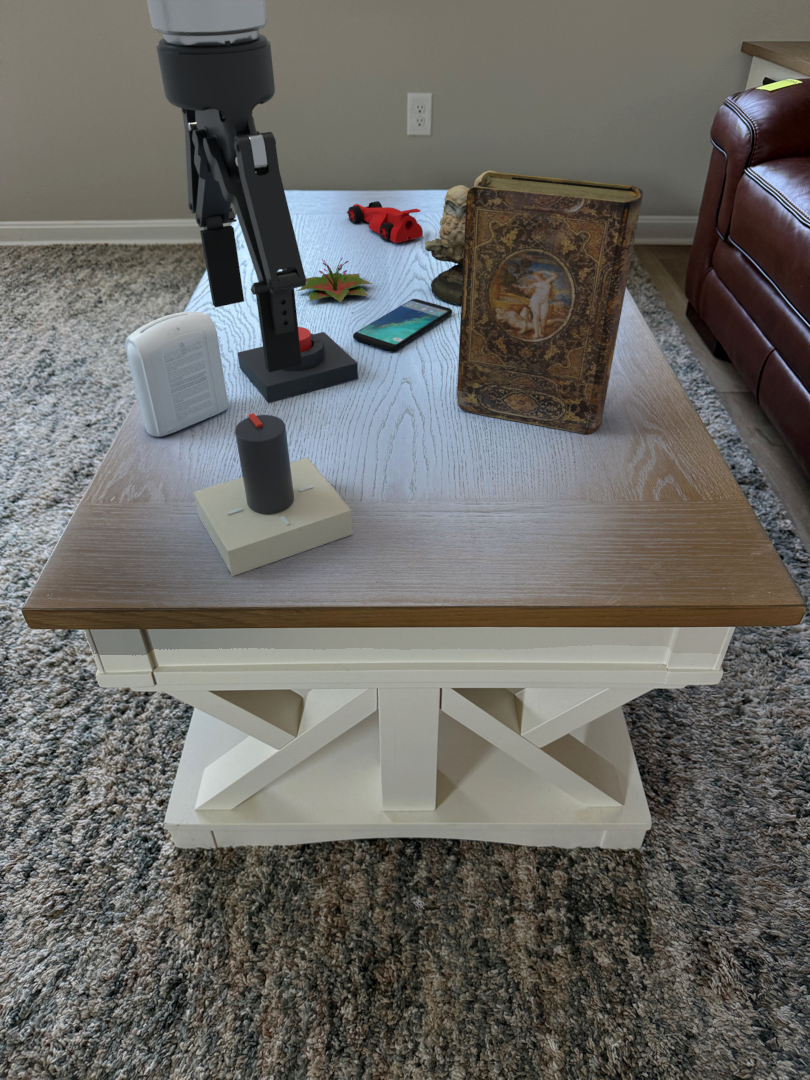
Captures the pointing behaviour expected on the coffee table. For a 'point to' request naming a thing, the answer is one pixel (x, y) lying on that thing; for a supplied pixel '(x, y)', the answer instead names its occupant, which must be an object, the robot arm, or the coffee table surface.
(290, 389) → the power box
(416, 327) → the smartphone
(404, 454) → the coffee table surface
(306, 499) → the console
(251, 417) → the dial
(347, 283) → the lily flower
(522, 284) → the book
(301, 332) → the power button
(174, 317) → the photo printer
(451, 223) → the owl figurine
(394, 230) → the toy car
